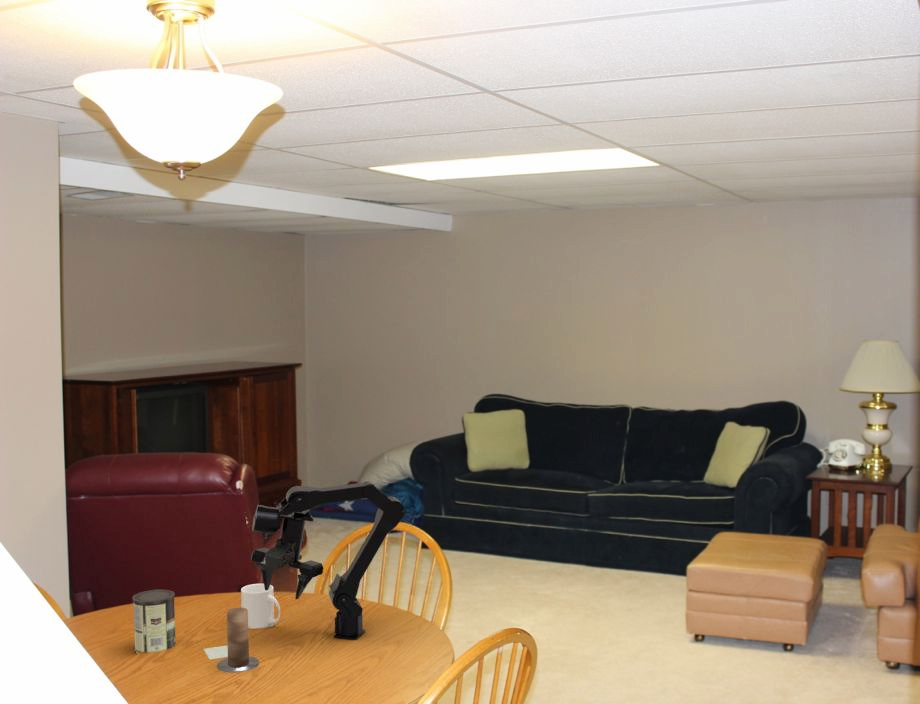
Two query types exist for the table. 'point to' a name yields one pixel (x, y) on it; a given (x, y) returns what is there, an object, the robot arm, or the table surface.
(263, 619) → the mug
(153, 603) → the coffee can
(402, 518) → the robot arm
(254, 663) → the grey saucer
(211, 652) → the stand
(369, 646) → the table surface
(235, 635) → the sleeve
